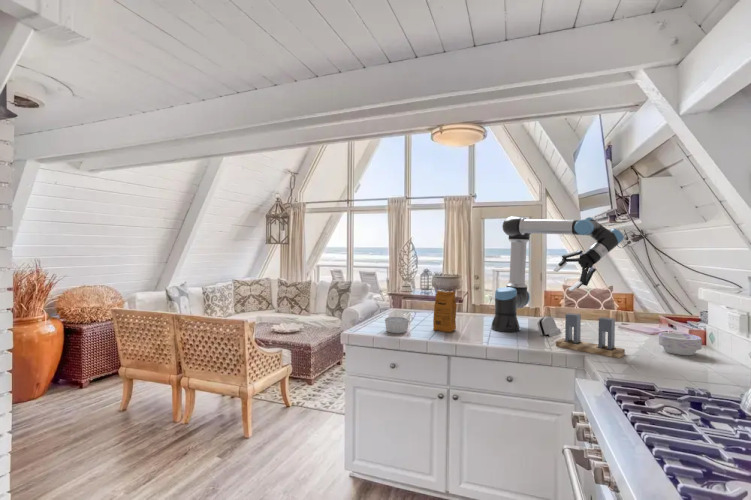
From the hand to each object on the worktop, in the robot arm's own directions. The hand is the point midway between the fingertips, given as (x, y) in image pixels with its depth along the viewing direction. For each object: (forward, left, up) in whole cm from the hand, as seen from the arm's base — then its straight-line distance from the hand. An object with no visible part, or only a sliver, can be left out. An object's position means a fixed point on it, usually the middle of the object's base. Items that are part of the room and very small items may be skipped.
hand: (562, 280), depth 191 cm
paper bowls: (+45, +15, -30) cm, 56 cm away
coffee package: (-53, -27, -30) cm, 67 cm away
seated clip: (+9, -11, -30) cm, 33 cm away
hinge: (-11, +10, -30) cm, 34 cm away
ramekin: (-69, -49, -30) cm, 90 cm away
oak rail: (+16, -11, -30) cm, 36 cm away
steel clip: (+23, -11, -30) cm, 39 cm away
